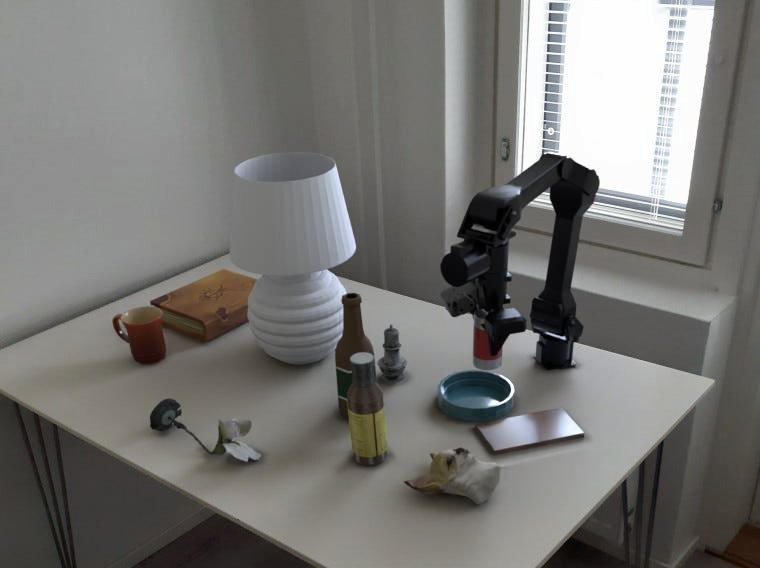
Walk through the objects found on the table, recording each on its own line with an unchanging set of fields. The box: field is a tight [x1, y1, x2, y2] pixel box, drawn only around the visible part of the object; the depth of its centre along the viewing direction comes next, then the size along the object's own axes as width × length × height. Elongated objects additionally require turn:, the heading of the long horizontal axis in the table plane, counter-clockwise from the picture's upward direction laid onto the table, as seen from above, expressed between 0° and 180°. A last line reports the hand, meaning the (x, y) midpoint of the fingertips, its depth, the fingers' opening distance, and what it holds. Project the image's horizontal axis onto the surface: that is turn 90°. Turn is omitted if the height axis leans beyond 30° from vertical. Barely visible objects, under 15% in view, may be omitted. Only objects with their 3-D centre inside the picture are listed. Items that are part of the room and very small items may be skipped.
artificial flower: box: [149, 397, 261, 463], centre depth 155 cm, size 9×22×10 cm, turn 50°
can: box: [472, 309, 504, 371], centre depth 154 cm, size 5×5×10 cm
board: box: [474, 407, 585, 456], centre depth 154 cm, size 17×9×1 cm, turn 105°
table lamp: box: [229, 151, 357, 365], centre depth 174 cm, size 25×25×40 cm
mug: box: [112, 305, 167, 365], centre depth 184 cm, size 12×9×10 cm
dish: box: [437, 369, 516, 423], centre depth 163 cm, size 14×14×3 cm
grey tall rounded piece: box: [377, 324, 408, 384], centre depth 171 cm, size 6×6×12 cm
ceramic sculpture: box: [403, 447, 502, 505], centre depth 139 cm, size 11×9×15 cm
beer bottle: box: [334, 292, 377, 421], centre depth 157 cm, size 8×8×24 cm
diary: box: [149, 268, 259, 344], centre depth 201 cm, size 23×19×6 cm
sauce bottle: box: [347, 352, 388, 467], centre depth 146 cm, size 6×6×20 cm
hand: (487, 348), depth 155 cm, fingers closed on can, 5 cm apart
